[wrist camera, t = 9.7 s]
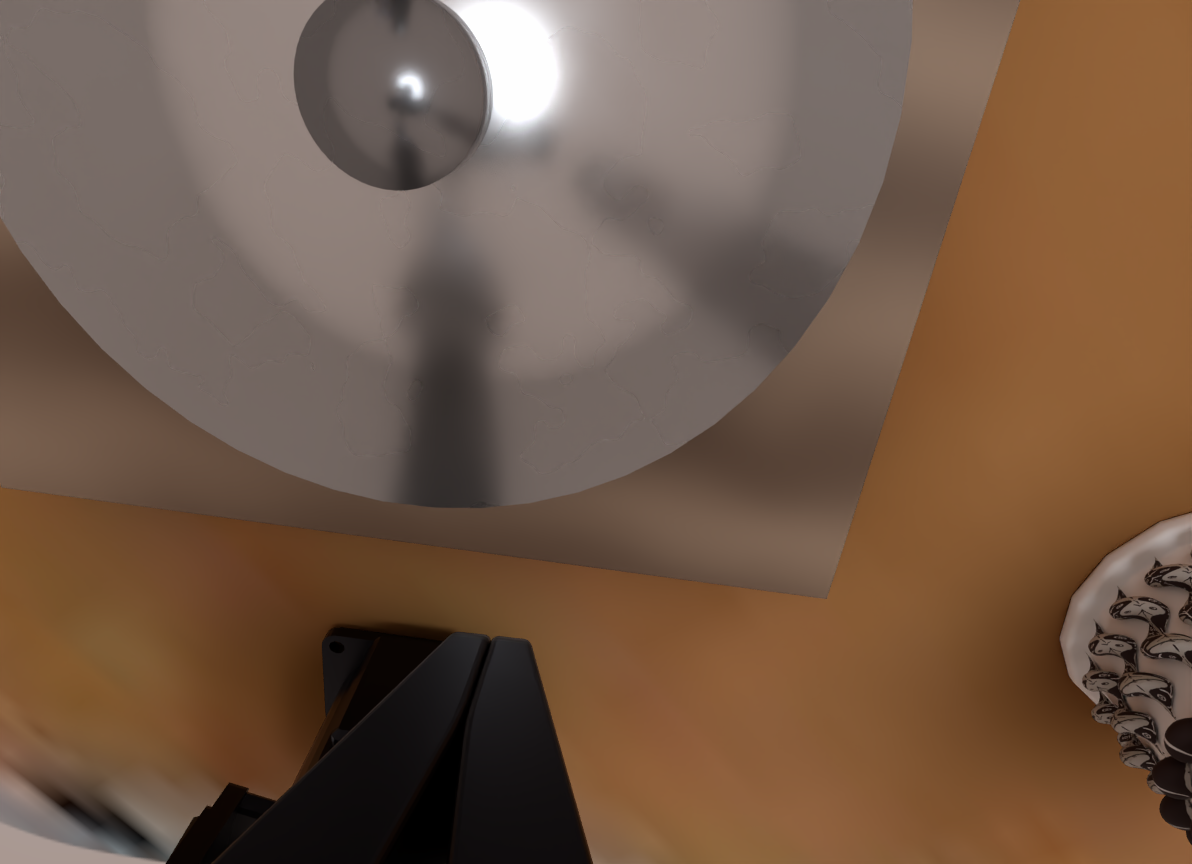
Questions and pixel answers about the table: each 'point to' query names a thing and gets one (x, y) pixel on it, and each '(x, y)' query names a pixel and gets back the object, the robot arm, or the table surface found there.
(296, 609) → the table surface
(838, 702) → the table surface
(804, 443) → the walnut stand
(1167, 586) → the decorative candle
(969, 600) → the table surface
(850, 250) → the dial
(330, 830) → the robot arm
